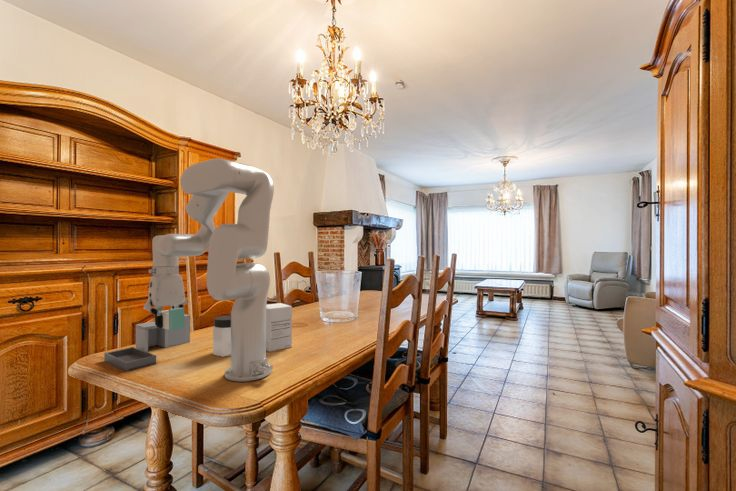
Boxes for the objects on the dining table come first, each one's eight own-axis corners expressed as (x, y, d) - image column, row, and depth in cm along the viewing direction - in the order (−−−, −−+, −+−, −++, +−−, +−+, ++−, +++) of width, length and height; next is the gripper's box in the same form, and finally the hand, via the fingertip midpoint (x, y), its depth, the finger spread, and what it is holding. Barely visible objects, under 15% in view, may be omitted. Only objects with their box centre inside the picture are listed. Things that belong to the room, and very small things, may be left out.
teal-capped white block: (184, 327, 114) (184, 308, 114) (172, 330, 110) (171, 309, 110) (167, 324, 120) (167, 305, 120) (155, 326, 117) (155, 307, 117)
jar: (215, 358, 111) (215, 321, 111) (210, 351, 118) (211, 316, 118) (243, 353, 116) (243, 318, 116) (238, 347, 123) (238, 314, 123)
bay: (190, 341, 130) (190, 315, 130) (144, 352, 117) (144, 323, 117) (180, 338, 134) (180, 313, 133) (135, 348, 121) (135, 320, 121)
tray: (156, 363, 106) (156, 355, 106) (126, 371, 99) (126, 363, 99) (132, 354, 115) (132, 346, 115) (104, 360, 108) (104, 353, 108)
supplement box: (257, 346, 125) (258, 305, 125) (280, 341, 131) (280, 302, 131) (269, 352, 118) (269, 308, 118) (292, 347, 124) (292, 305, 124)
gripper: (144, 273, 107) (145, 332, 107) (196, 270, 121) (197, 322, 121) (133, 273, 112) (134, 329, 111) (184, 270, 125) (185, 320, 125)
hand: (166, 325), depth 116 cm, fingers closed on teal-capped white block, 4 cm apart
